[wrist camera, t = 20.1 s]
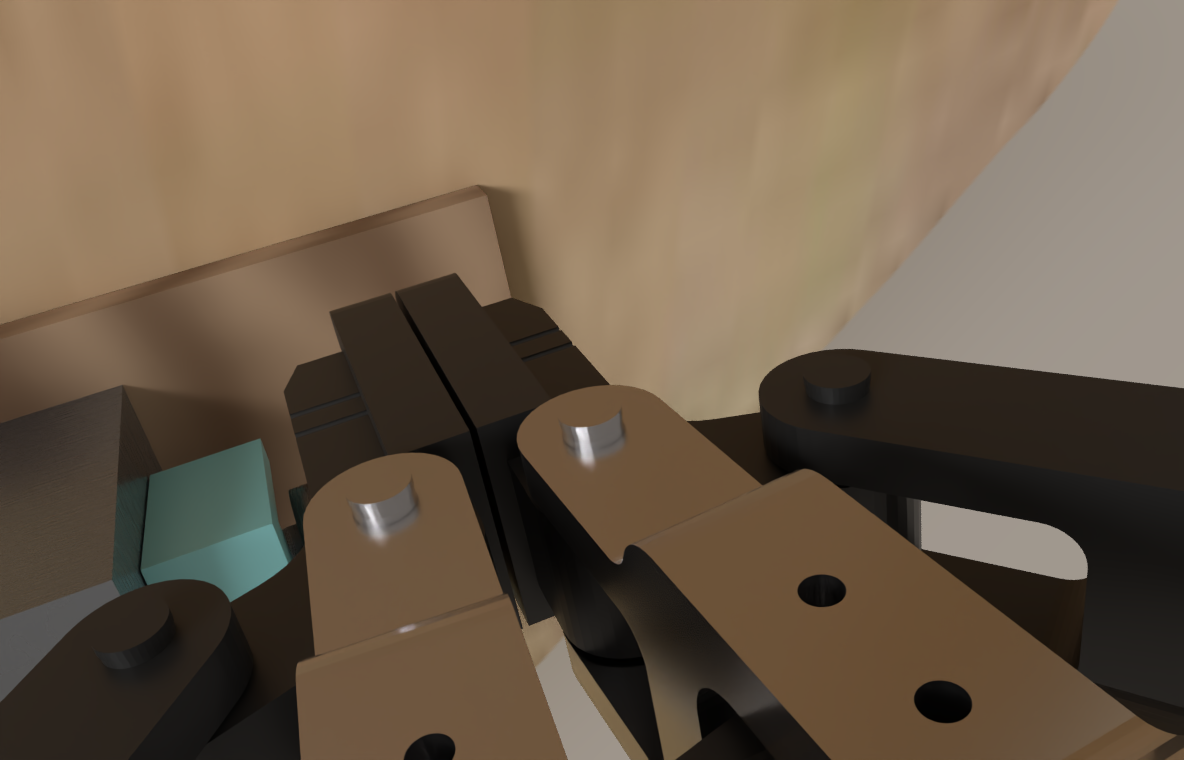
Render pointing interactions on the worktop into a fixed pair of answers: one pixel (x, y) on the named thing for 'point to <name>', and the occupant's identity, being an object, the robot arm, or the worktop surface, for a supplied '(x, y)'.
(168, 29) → the worktop surface
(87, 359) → the base board
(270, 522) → the block
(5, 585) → the housing
